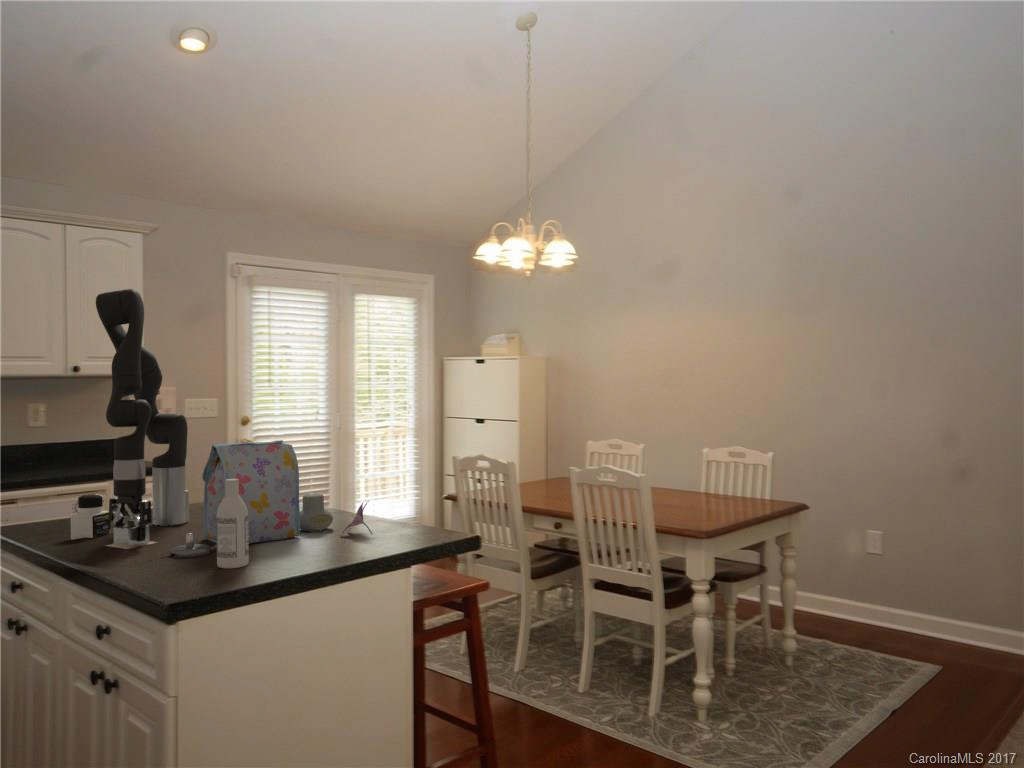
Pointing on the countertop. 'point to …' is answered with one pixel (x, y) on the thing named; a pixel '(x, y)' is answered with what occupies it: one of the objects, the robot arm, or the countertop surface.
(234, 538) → the bath foam
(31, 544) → the countertop surface
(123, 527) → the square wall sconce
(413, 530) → the countertop surface
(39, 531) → the countertop surface
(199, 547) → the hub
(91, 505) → the medicine bottle
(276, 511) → the lunch bag
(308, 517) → the air freshener
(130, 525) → the stand
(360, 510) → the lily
